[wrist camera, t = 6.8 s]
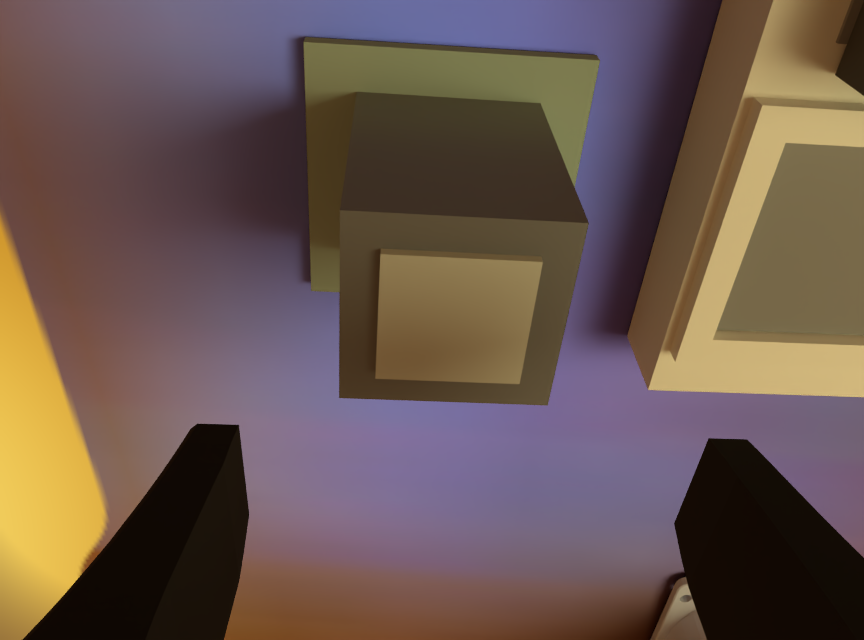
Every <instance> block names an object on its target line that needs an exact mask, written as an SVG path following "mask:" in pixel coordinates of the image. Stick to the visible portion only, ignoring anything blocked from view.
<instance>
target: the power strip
mask: <svg viewBox="0 0 864 640" xmlns="http://www.w3.org/2000/svg"><path fill="white" fill-rule="evenodd" d="M863 2H864V0H722V3H721V7H720V10H719V14H718V18H717V21H716V25H715V28H714V32H713V35H712V39H711V42H710V46H709V49H708V53H707V56H706V60H705V63H704V67H703V70H702V74H701V78H700V81H699V85H698V88H697V92H696V95H695V99H694V102H693V106H692V109H691V113H690V116H689V120H688V123H687V127H686V130H685V134H684V137H683V141H682V145H681V148H680V152H679V155H678V159H677V162H676V166H675V169H674V173H673V176H672V180H671V183H670V187H669V190H668V194H667V197H666V201H665V205H664V208H663V212H662V215H661V219H660V222H659V226H658V229H657V233H656V236H655V240H654V243H653V247H652V250H651V254H650V257H649V261H648V265H647V268H646V272H645V275H644V279H643V282H642V286H641V289H640V293H639V296H638V300H637V303H636V307H635V310H634V314H633V317H632V321H631V324H630V328H629V332H628V335H627V337H628V340H629V342H630V345H631V347H632V350H633V352H634V355H635V358H636V360H637V363H638V365H639V368H640V370H641V373H642V376H643V378H644V381H645V383H646V386H647V388H648V390H666V391H696V392H726V393H757V394H787V395H817V396H847V397H864V96H863V95H862V94H860V93H859V92H858V91H856V90H855V89H853V88H852V87H851V86H849V85H848V84H846V83H845V82H844V81H842V80H841V79H840V78H838V77H837V76H835V74H836V71H837V69H838V66H839V63H840V61H841V58H842V56H843V53H844V51H845V48H846V45H847V43H848V40H849V38H850V35H851V33H852V30H853V28H854V25H855V22H856V20H857V17H858V15H859V12H860V10H861V7H862V4H863Z"/></svg>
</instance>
